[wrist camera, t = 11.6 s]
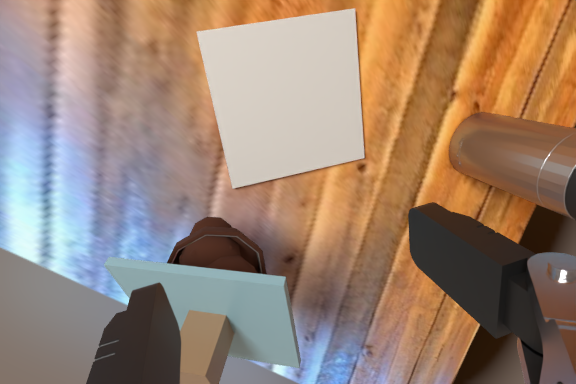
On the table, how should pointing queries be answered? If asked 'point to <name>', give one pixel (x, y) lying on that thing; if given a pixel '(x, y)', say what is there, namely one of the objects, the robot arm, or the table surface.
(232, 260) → the ice cream bowl
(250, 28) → the mat
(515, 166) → the robot arm
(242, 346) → the cover sheet
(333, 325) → the table surface
